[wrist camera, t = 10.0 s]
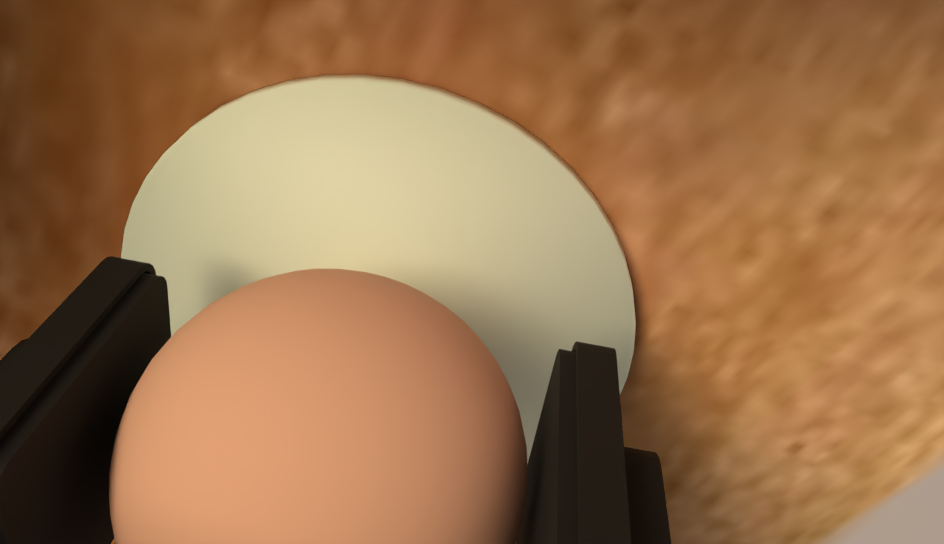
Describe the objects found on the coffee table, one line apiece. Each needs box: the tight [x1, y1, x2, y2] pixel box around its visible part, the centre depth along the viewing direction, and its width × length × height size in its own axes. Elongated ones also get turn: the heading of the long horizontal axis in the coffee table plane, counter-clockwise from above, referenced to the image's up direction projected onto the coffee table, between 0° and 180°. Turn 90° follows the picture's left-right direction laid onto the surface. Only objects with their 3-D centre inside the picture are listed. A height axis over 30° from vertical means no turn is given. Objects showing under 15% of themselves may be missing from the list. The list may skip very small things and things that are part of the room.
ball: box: [109, 268, 528, 544], centre depth 10 cm, size 5×5×5 cm
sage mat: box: [121, 74, 636, 464], centre depth 12 cm, size 8×8×1 cm
